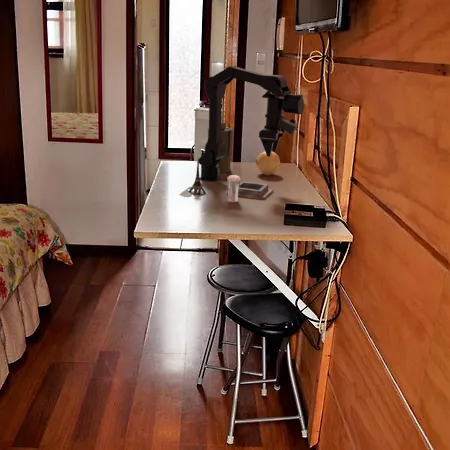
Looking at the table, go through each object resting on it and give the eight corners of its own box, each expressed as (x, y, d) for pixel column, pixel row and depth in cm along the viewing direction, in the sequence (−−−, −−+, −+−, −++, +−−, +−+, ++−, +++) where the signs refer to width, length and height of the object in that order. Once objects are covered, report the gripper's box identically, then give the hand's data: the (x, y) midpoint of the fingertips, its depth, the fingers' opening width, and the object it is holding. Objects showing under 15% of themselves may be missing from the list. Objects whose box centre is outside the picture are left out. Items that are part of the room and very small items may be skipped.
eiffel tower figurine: (189, 187, 213) (190, 152, 209) (215, 190, 210) (216, 155, 206) (175, 198, 199) (176, 160, 195) (203, 201, 197) (204, 163, 192)
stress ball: (261, 173, 241) (247, 160, 235) (276, 156, 240) (263, 142, 234) (272, 182, 233) (259, 169, 227) (288, 164, 233) (275, 151, 226)
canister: (201, 169, 239) (202, 122, 233) (215, 165, 248) (216, 119, 241) (223, 173, 234) (225, 125, 227) (236, 169, 242) (238, 122, 236)
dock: (227, 194, 204) (227, 187, 203) (237, 187, 214) (237, 180, 214) (264, 199, 199) (265, 192, 199) (273, 191, 210) (273, 184, 209)
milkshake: (223, 199, 198) (224, 171, 195) (238, 199, 199) (240, 171, 195) (224, 202, 194) (225, 174, 191) (240, 202, 194) (241, 174, 191)
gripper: (291, 116, 193) (287, 161, 198) (301, 110, 210) (297, 151, 215) (260, 113, 196) (257, 158, 201) (272, 107, 212) (269, 148, 218)
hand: (271, 154), depth 208 cm, fingers open, 9 cm apart
